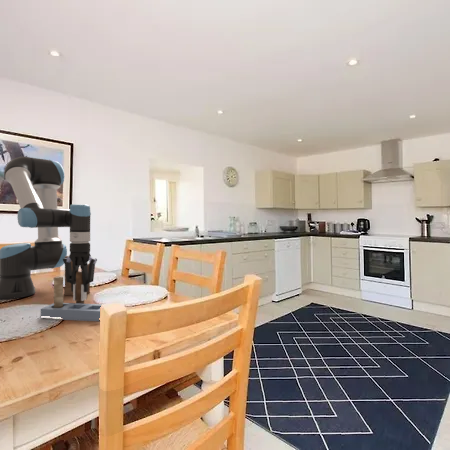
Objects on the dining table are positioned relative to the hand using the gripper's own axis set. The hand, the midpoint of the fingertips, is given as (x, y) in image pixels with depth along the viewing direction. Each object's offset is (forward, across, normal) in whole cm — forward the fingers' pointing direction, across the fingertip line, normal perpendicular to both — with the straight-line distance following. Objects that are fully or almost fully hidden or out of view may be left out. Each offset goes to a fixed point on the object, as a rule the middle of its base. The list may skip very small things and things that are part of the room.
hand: (79, 299), depth 119 cm
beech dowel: (+3, -1, -12) cm, 12 cm away
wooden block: (+3, -12, +18) cm, 22 cm away
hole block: (+3, +6, -12) cm, 14 cm away
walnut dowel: (+3, 0, 0) cm, 3 cm away
